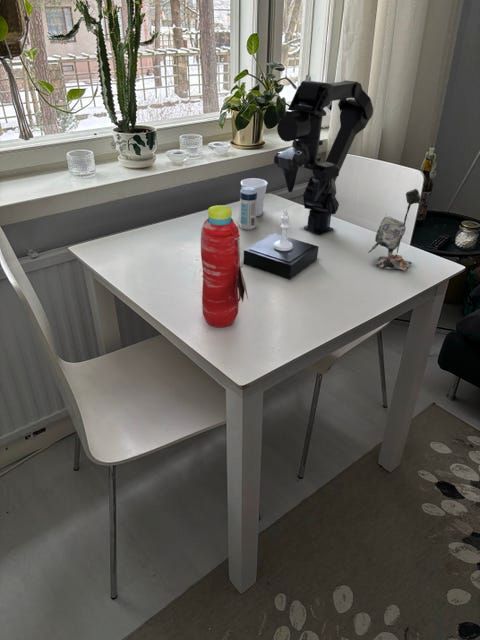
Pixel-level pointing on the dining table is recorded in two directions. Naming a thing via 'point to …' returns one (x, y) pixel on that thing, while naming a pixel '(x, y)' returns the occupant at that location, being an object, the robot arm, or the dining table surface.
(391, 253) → the grey mottled stone figure
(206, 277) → the water bottle
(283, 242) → the chess piece
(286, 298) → the dining table surface
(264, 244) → the stand
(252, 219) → the white supplement bottle
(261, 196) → the dixie cup
